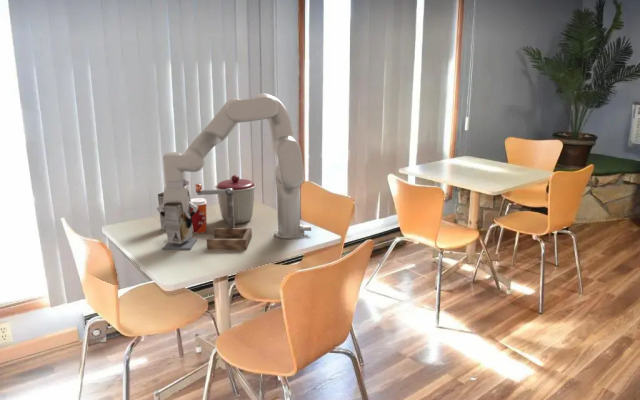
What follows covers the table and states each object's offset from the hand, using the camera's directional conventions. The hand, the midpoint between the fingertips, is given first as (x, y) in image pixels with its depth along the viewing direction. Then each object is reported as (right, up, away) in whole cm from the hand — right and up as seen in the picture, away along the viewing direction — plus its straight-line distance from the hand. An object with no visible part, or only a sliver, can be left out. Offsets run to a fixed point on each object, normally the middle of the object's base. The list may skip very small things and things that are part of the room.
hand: (179, 226), depth 227 cm
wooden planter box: (+20, -6, +5) cm, 21 cm away
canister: (+19, +1, +33) cm, 37 cm away
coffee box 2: (0, -5, +2) cm, 6 cm away
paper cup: (+4, -3, +18) cm, 19 cm away
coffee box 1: (-8, -2, +24) cm, 25 cm away
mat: (0, -7, +2) cm, 8 cm away
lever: (+13, +13, +6) cm, 20 cm away
